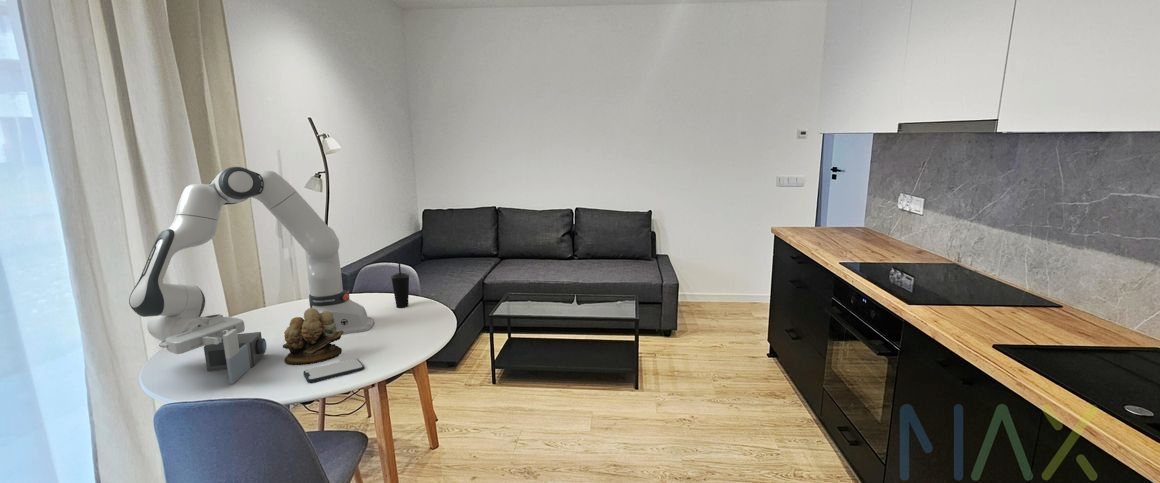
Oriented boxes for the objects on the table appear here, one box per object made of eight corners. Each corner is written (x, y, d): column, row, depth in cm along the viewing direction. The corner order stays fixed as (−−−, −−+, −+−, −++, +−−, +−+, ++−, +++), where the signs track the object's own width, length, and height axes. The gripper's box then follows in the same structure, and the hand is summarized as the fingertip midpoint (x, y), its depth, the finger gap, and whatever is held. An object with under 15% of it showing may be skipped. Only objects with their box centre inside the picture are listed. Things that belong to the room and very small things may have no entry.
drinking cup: (405, 309, 217) (402, 263, 213) (389, 308, 218) (385, 262, 214) (415, 304, 224) (412, 259, 220) (399, 303, 226) (395, 258, 222)
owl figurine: (343, 345, 179) (339, 298, 176) (346, 358, 169) (342, 308, 166) (284, 355, 171) (278, 306, 168) (283, 369, 161) (277, 317, 157)
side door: (249, 366, 162) (242, 321, 159) (253, 366, 163) (247, 321, 160) (229, 385, 150) (221, 336, 147) (233, 384, 151) (226, 336, 148)
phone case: (357, 362, 167) (302, 374, 158) (357, 357, 167) (302, 369, 157) (365, 371, 160) (308, 385, 151) (365, 367, 160) (308, 380, 150)
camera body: (270, 353, 172) (267, 329, 171) (261, 365, 163) (258, 340, 162) (219, 359, 168) (215, 334, 167) (207, 371, 159) (203, 345, 158)
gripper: (153, 334, 146) (186, 341, 141) (224, 312, 165) (255, 318, 160) (156, 355, 147) (189, 363, 142) (226, 331, 166) (257, 337, 161)
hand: (225, 339), depth 151 cm, fingers closed
